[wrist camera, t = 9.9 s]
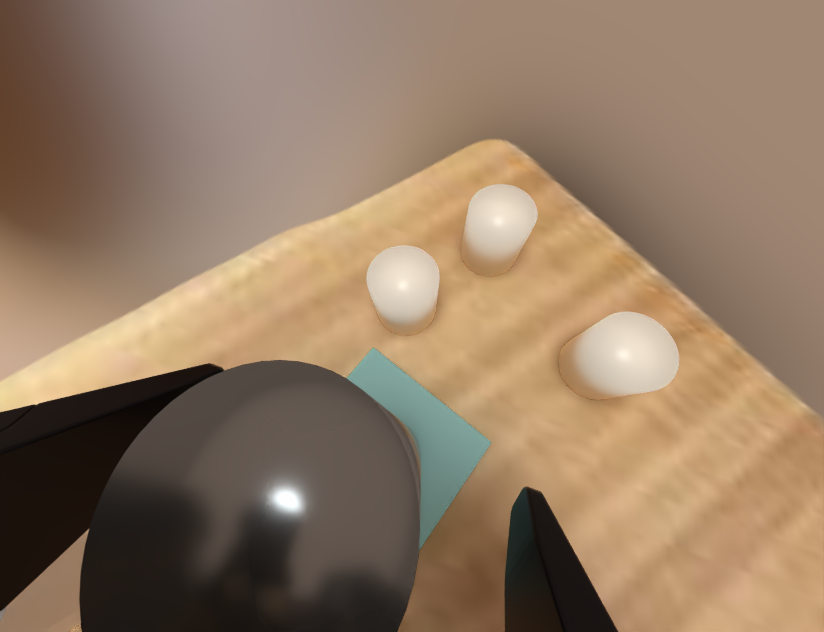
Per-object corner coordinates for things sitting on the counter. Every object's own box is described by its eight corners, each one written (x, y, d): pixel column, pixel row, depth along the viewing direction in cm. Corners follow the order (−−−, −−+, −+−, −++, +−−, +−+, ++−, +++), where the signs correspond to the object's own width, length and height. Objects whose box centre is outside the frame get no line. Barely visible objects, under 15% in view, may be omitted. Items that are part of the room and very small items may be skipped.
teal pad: (390, 590, 14) (390, 594, 14) (272, 467, 16) (268, 468, 16) (490, 442, 16) (491, 442, 16) (374, 349, 18) (373, 347, 18)
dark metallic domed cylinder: (386, 522, 15) (232, 900, 3) (325, 464, 16) (13, 556, 4) (436, 450, 16) (486, 494, 4) (376, 400, 17) (265, 308, 5)
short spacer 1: (410, 347, 18) (408, 325, 15) (365, 312, 19) (351, 282, 16) (447, 302, 19) (454, 270, 16) (402, 270, 20) (398, 233, 16)
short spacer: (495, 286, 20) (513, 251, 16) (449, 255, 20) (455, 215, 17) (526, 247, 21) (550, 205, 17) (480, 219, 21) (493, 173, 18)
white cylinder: (69, 665, 14) (-251, 873, 7) (17, 528, 16) (-273, 594, 9) (208, 539, 15) (48, 617, 9) (145, 428, 17) (-25, 424, 11)
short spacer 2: (627, 405, 17) (682, 399, 13) (557, 393, 17) (591, 384, 14) (624, 340, 18) (675, 317, 14) (559, 331, 18) (591, 306, 15)
